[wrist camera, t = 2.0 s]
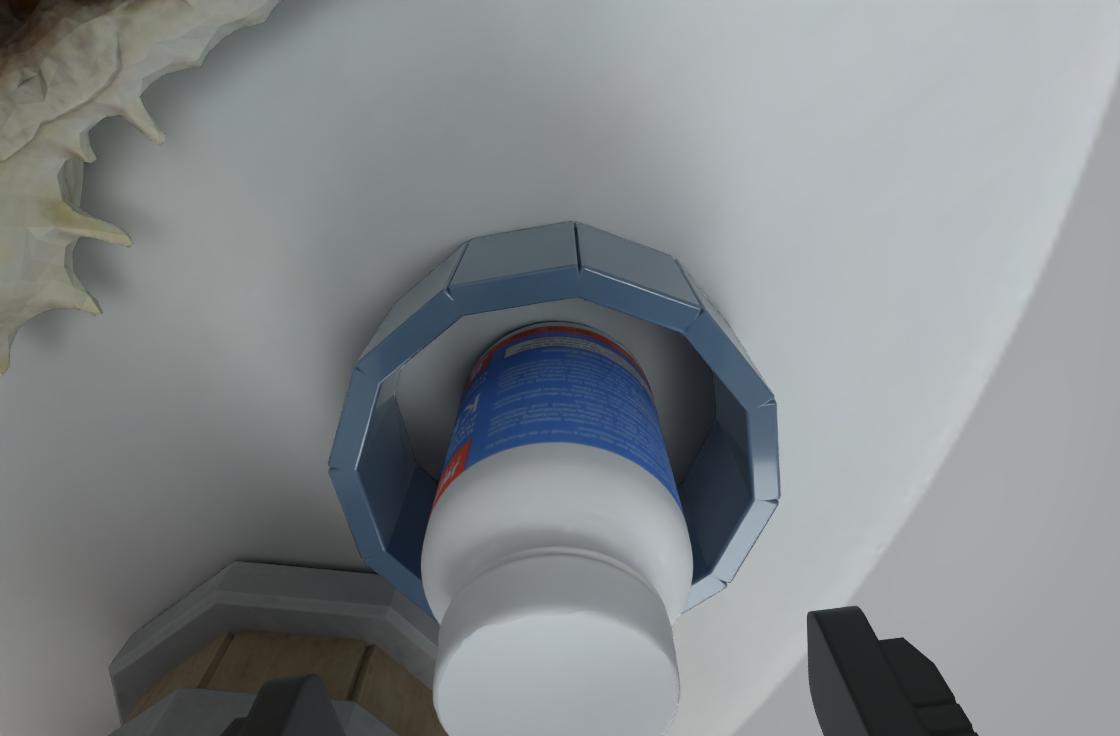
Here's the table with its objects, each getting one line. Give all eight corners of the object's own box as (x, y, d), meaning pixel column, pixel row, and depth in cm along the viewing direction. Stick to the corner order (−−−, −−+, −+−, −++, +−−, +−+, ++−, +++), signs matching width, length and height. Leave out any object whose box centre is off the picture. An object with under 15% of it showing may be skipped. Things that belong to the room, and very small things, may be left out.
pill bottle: (453, 320, 18) (357, 568, 10) (651, 312, 18) (739, 554, 9) (472, 487, 21) (410, 812, 12) (649, 480, 21) (718, 802, 12)
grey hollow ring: (327, 263, 18) (267, 317, 14) (724, 193, 17) (769, 230, 13) (427, 568, 22) (402, 669, 18) (747, 523, 21) (787, 619, 18)
